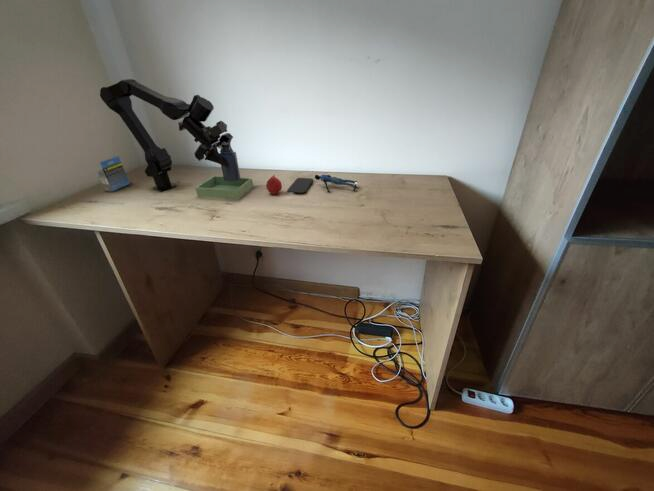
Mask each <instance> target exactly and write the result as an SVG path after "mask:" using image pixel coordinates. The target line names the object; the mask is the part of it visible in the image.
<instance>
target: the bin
mask: <svg viewBox="0 0 654 491" xmlns="http://www.w3.org/2000/svg"><path fill="white" fill-rule="evenodd" d="M253 188H254V183H253V178H250V177H240V179H238V180H235V181H226V180H224V177H223V175H222V176H221V175H213V176H211V177H210V178H208V179H206V180H205V181H204V182H202V183H201V184H198V185H197V186H195V188H194V189H195V192H196V195H197V197H200V198H201V197H202V198H212V199H222V200H223V199H224V200H236V201H238V200H239V199H241V198H242V197H243V196H244V195H245V194H247V193H248V192H249V191H250V190H251V189H253Z"/></svg>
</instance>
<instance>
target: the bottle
mask: <svg viewBox="0 0 654 491" xmlns="http://www.w3.org/2000/svg"><path fill="white" fill-rule="evenodd" d="M230 144H231V142H230V143H222V144H221V145H222V148H223V150H222V151H221V152H218V153H219V154H220V155H221V156H222V157H223V158H224V159H225V160H226V161H227V163H228V164H229V166H228V167H226V166H224V165H221V164H220V168H221V172H222V176H223V177H224V180H226V181H235V180H238V179H240V178H241V172H240V168H239V160H238V157H237V156H238V155H237V152H236V151H234V150H233V148H232V149H230Z"/></svg>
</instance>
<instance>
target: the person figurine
mask: <svg viewBox="0 0 654 491" xmlns="http://www.w3.org/2000/svg"><path fill="white" fill-rule="evenodd" d="M314 179H315V180H317V181H319V180H320V181H321V182H322V183H324V185H325V188H326V190H327V193H330V191H331V190H330V189H329V187H328V183H331V184H335V185H338V186H339V185H340V186H348V187H352V188H353V191H354V192H356V189H357V187H358V186H359V181H357V180H352V179H343V178H340V177H336V176H331V175H330V174H321V175H318V174H315V175H314Z"/></svg>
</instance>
